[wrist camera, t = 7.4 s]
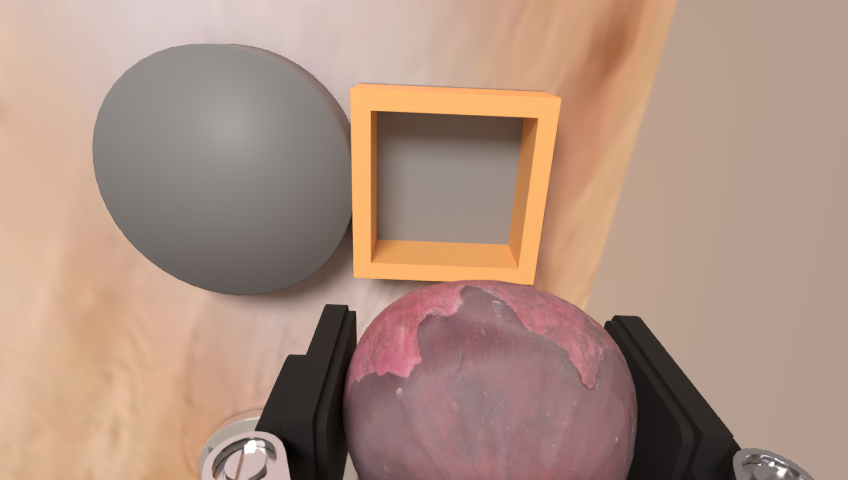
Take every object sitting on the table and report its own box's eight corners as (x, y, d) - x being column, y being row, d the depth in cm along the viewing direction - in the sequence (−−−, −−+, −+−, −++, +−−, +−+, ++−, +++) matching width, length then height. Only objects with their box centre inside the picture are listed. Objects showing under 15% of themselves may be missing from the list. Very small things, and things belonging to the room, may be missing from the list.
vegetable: (579, 384, 15) (838, 950, 6) (388, 409, 15) (331, 976, 6) (570, 204, 12) (994, 659, 3) (345, 239, 13) (142, 735, 4)
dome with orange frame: (517, 279, 32) (529, 310, 28) (153, 265, 31) (117, 294, 28) (547, 58, 26) (566, 60, 22) (108, 38, 26) (55, 37, 22)
